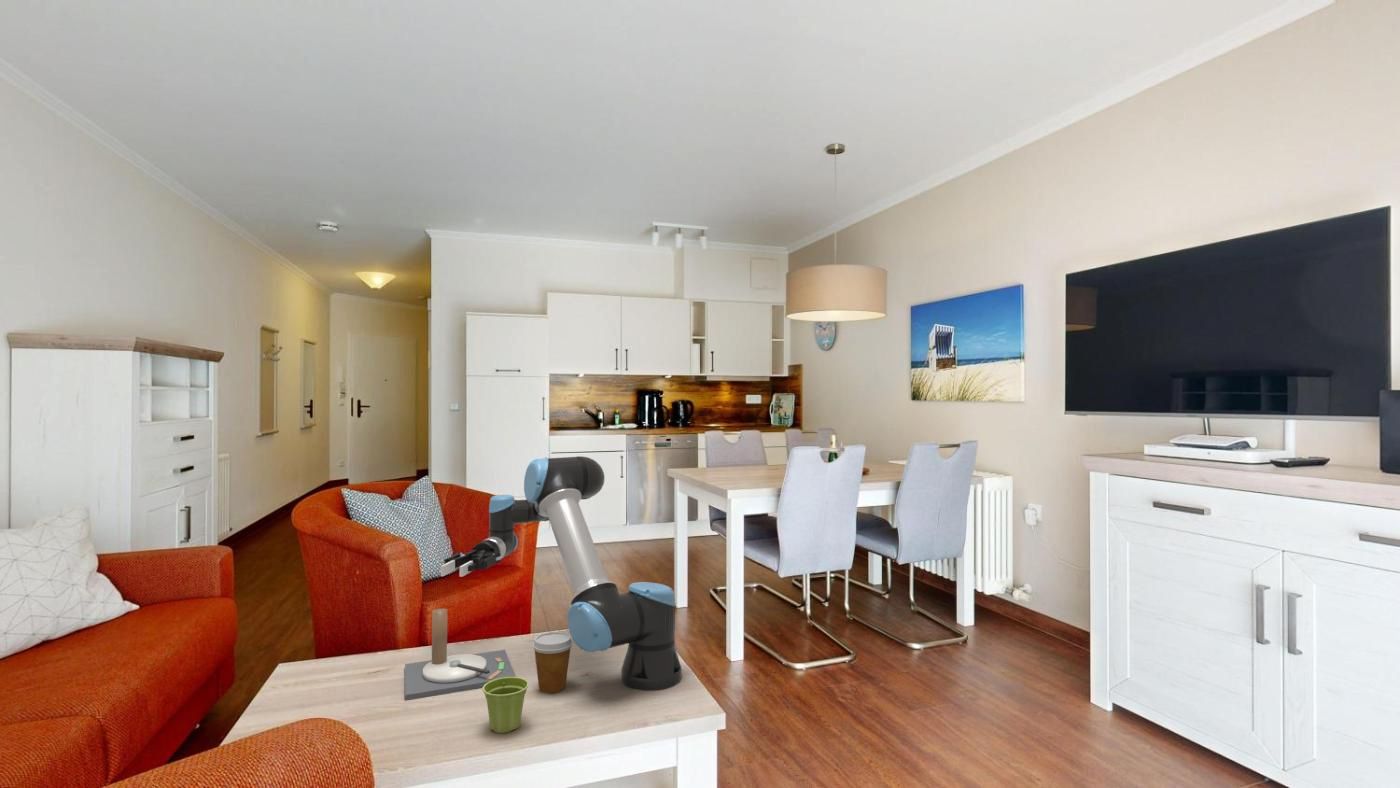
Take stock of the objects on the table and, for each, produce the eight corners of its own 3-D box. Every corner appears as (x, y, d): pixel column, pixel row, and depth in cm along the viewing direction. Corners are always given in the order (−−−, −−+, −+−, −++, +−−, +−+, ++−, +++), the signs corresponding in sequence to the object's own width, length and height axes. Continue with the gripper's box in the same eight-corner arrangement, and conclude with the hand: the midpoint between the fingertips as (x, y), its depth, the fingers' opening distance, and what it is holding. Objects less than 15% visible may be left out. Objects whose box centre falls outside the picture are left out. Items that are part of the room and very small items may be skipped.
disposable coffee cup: (577, 680, 162) (577, 632, 163) (565, 697, 153) (565, 646, 153) (539, 678, 163) (540, 630, 163) (526, 695, 154) (526, 644, 154)
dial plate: (516, 682, 161) (516, 675, 161) (405, 700, 151) (405, 693, 151) (504, 653, 180) (504, 648, 180) (405, 668, 169) (405, 662, 169)
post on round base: (490, 678, 160) (490, 620, 160) (423, 689, 154) (424, 628, 154) (482, 655, 175) (483, 601, 175) (422, 664, 169) (422, 608, 169)
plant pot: (488, 716, 143) (488, 676, 143) (531, 715, 144) (532, 675, 144) (477, 738, 134) (477, 695, 134) (523, 736, 135) (524, 694, 135)
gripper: (516, 565, 196) (483, 586, 173) (460, 563, 198) (419, 584, 175) (516, 540, 197) (483, 558, 173) (460, 538, 198) (420, 556, 175)
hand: (451, 571), depth 174 cm, fingers open, 4 cm apart
